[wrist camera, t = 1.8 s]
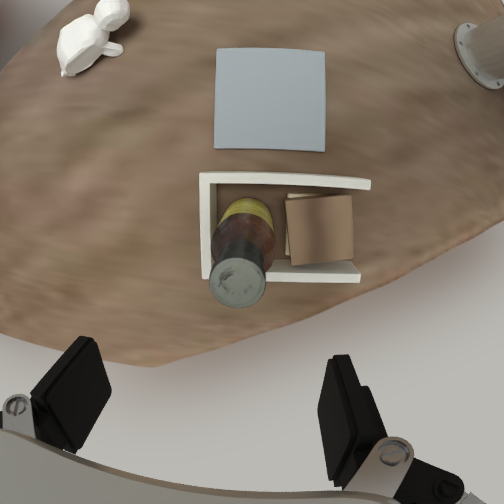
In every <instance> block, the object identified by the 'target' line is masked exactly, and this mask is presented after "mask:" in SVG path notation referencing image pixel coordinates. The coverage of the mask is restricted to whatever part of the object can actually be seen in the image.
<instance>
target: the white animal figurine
mask: <svg viewBox="0 0 504 504" xmlns="http://www.w3.org/2000/svg"><path fill="white" fill-rule="evenodd" d="M129 17H130V5H129V3H128V1H127V0H100V1H99V3H98V4H97V6H96V8H95V12H94V15H90V14H86V15H84V16H82V17H80V18H78V19H75V20H73V22H71V23H70V24H68V25H67V26H65V27H63V28H62V29H61V31H60V37H59V40H58V44H57V57H58V59H59V62H60V65H61V69H62V71H61V75H62V76H66V75H68V76H70V77H71V76H75V75H76V73H79V72H81V71H83V70H85V69H87V68H88V67H90V66H91V65H92V64H93V62H95V60H96V59H98V57H99V56H100V55H101V54H104V55H107V56H110V57H111V56H119V55H121V54H122V53H123V47H122V45H120V44H116V43H112V42H109V41H108V39H109V35H110V31H115V30H117V29H119V27H120V26H121V25H123V24H124V23H126V22H127V20H128V19H129Z"/></svg>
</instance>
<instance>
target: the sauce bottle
mask: <svg viewBox="0 0 504 504" xmlns="http://www.w3.org/2000/svg"><path fill="white" fill-rule="evenodd" d="M211 255H212V257H213V260H214V262H215V263H214V264H213V266H212V268H211V272H210V276H209V285H210V290H211V292H212V294H213V295H214V297H215V298H216V299H217V300H218V301H220V302H221V303H222V304H224V305H226V306H229V307H233V308H245V307H248V306H251V305H253V304H254V303H256V302H257V301H258V300H259V299H260V298H261V297H262V296H263V293H264V291H265V286H266V272H267V271H268V270H269V268H270V267H271V266H272V263H273V260H274V256H275V234H274V228H273V222H272V217H271V213H270V211H269V209H268V208H267V207H266V206H265V204H263V203H262V202H261V201H260V200H258V199H256V198H240V199H238V200H236V201H234V202H233V203H232V204H230V206H229V207H228V208H227V209H226V211H225V213H224V215H223V216H222V218H221V220H220V222H219V224H218V226H217V227H216V229H215V231H214V233H213V236H212V239H211Z"/></svg>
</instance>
